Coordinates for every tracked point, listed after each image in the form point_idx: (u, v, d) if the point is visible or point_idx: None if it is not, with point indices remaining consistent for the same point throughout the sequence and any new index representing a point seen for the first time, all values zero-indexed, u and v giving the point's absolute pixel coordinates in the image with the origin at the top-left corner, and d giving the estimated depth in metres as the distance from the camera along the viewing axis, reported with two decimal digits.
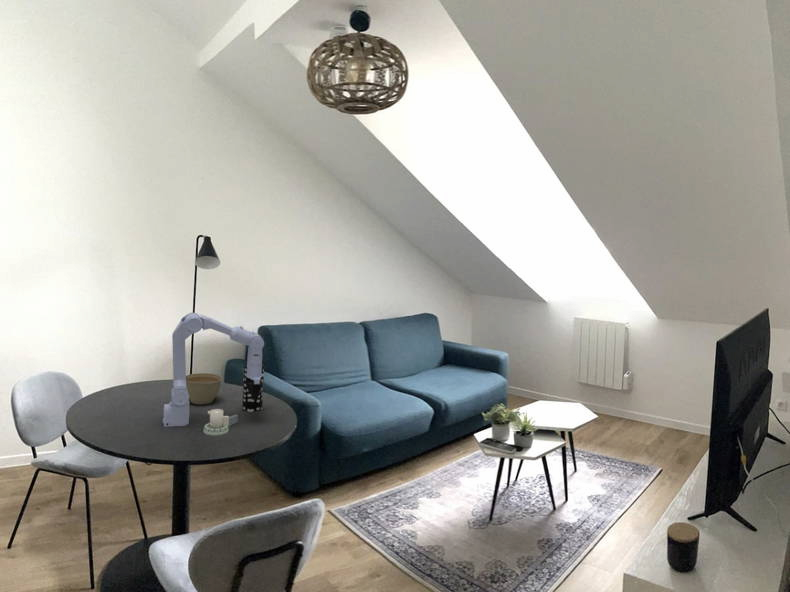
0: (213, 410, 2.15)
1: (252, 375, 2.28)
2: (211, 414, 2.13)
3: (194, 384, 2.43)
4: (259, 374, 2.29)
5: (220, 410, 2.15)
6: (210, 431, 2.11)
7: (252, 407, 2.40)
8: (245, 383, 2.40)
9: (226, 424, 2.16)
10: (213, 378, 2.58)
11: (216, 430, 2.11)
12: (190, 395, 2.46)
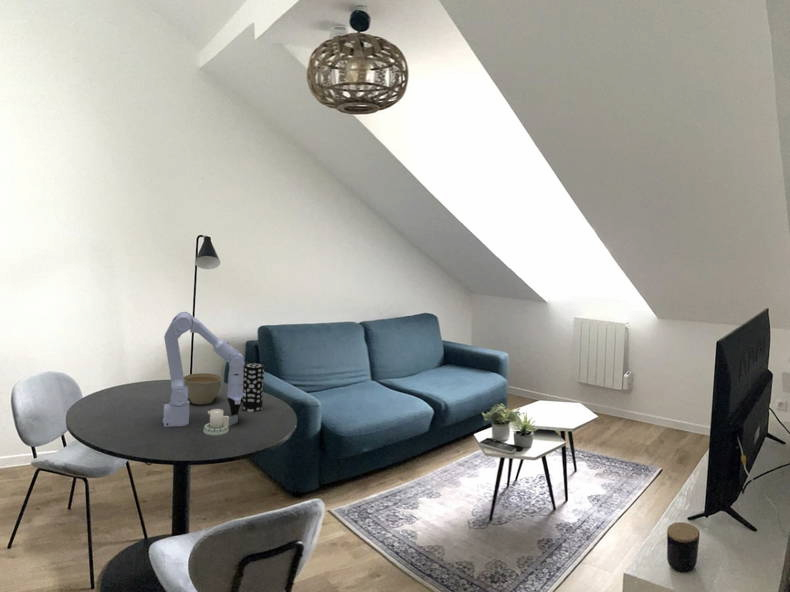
0: (213, 410, 2.15)
1: (233, 395, 2.24)
2: (211, 414, 2.13)
3: (194, 384, 2.43)
4: (240, 394, 2.25)
5: (220, 410, 2.15)
6: (210, 431, 2.11)
7: (252, 407, 2.40)
8: (245, 383, 2.40)
9: (226, 424, 2.16)
10: (213, 378, 2.58)
11: (216, 430, 2.11)
12: (190, 395, 2.46)
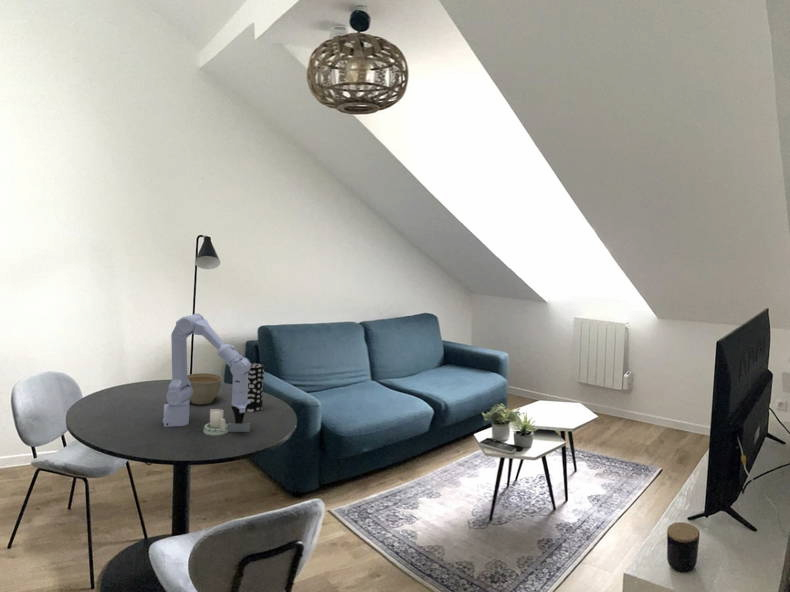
0: (216, 409, 2.16)
1: (237, 403, 2.14)
2: None
3: (194, 384, 2.43)
4: (245, 401, 2.16)
5: (219, 411, 2.14)
6: (204, 428, 2.14)
7: (252, 407, 2.40)
8: None
9: (221, 427, 2.13)
10: (213, 378, 2.58)
11: (206, 429, 2.12)
12: None
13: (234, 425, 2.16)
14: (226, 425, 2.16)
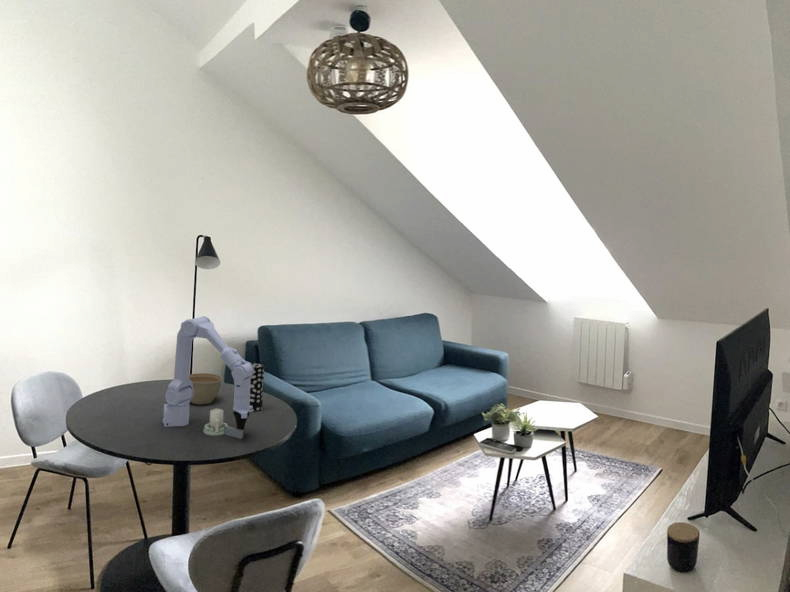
0: (218, 409, 2.16)
1: (239, 408, 2.09)
2: None
3: (194, 384, 2.43)
4: (247, 407, 2.10)
5: (217, 412, 2.13)
6: None
7: None
8: None
9: (215, 428, 2.12)
10: (213, 378, 2.58)
11: (204, 426, 2.14)
12: None
13: (229, 429, 2.12)
14: None
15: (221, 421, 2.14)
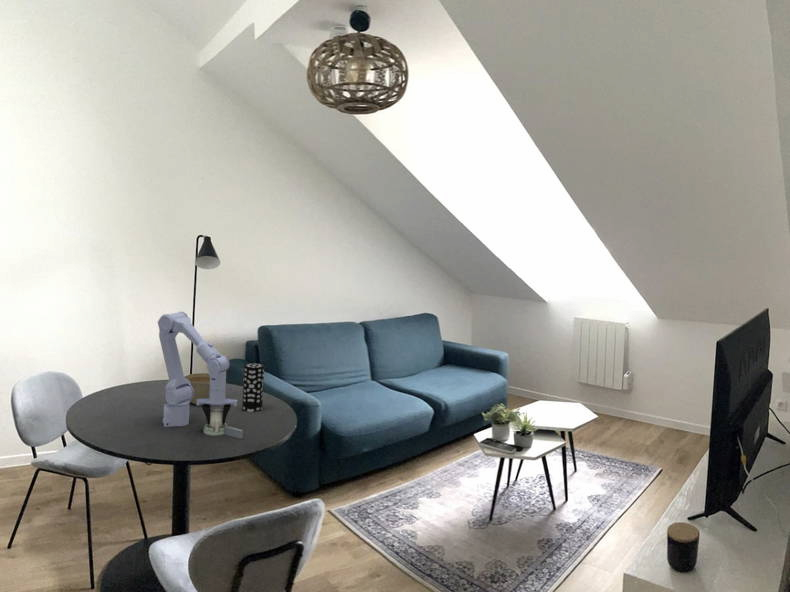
0: (218, 409, 2.16)
1: (224, 400, 2.13)
2: None
3: (194, 384, 2.43)
4: None
5: (217, 412, 2.13)
6: None
7: (252, 407, 2.40)
8: (245, 383, 2.40)
9: (215, 428, 2.12)
10: None
11: (204, 426, 2.14)
12: None
13: (228, 429, 2.12)
14: None
15: (221, 421, 2.14)
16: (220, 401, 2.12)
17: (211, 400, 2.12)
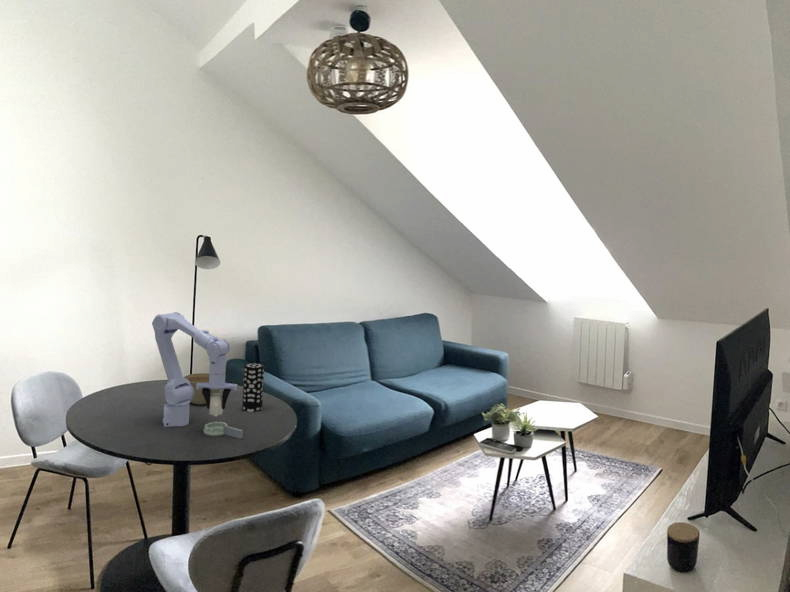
0: (218, 394, 2.14)
1: (223, 384, 2.12)
2: None
3: (194, 384, 2.43)
4: None
5: (216, 396, 2.12)
6: None
7: (252, 407, 2.40)
8: (245, 383, 2.40)
9: (214, 412, 2.10)
10: None
11: (204, 426, 2.14)
12: None
13: (228, 429, 2.12)
14: None
15: (221, 405, 2.12)
16: (220, 385, 2.10)
17: (211, 384, 2.10)
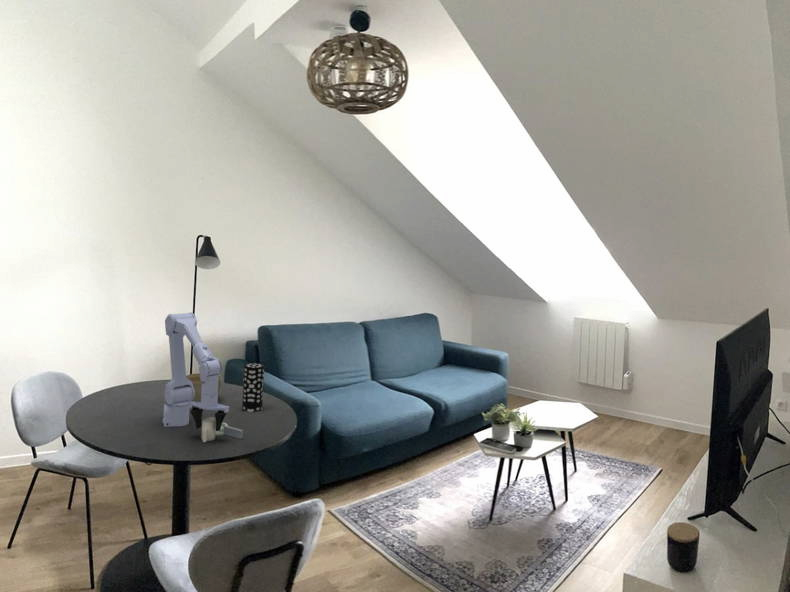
0: (212, 419, 2.08)
1: (214, 405, 2.05)
2: None
3: (194, 384, 2.43)
4: None
5: (208, 421, 2.06)
6: None
7: (252, 407, 2.40)
8: (245, 383, 2.40)
9: None
10: None
11: None
12: None
13: (228, 429, 2.12)
14: None
15: (211, 431, 2.06)
16: (209, 406, 2.04)
17: (201, 404, 2.05)
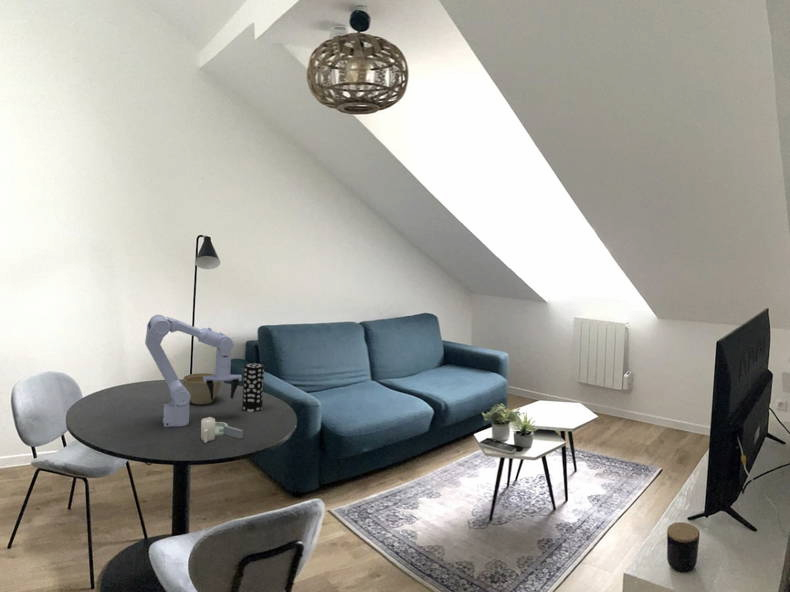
0: (210, 418, 2.08)
1: (229, 375, 2.28)
2: None
3: (194, 384, 2.43)
4: None
5: (207, 421, 2.06)
6: None
7: (252, 407, 2.40)
8: (245, 383, 2.40)
9: None
10: None
11: None
12: None
13: (228, 429, 2.12)
14: None
15: (212, 431, 2.06)
16: (227, 377, 2.26)
17: (218, 376, 2.25)
